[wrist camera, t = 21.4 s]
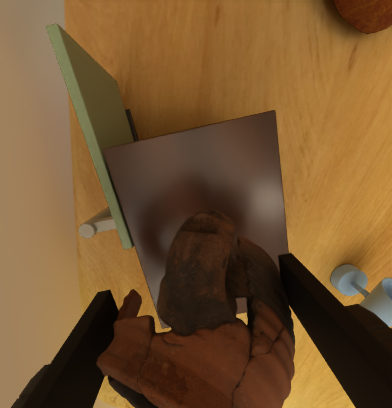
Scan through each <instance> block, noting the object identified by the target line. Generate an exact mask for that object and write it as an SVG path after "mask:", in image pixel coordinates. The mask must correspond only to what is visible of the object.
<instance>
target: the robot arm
mask: <svg viewBox="0 0 392 408" xmlns="http://www.w3.org/2000/svg"><path fill="white" fill-rule="evenodd" d="M278 260H279V269H280V278H281V281H282V285H283V287H284V289H285V293H286V295H287V297H288V300H289V305H290V307H291V308H292V310H293V311H294V313H295V315H296V316H297V318H298V319H299V321H300V322H301V324H302V325H303V327H304V328H305V330H306V332H307V333H308V335H309V336H310V338H311V339H312V341H313V342H314V344H315V345H316V347H317V349H318V350H319V352H320V353H321V355H322V356H323V358H324V359H325V361H326V362H327V364H328V366H329V367H330V369H331V370H332V372H333V373H334V375H335V376H336V378H337V379H338V381H339V383H340V384H341V386H342V387H343V389H344V390H345V392H346V393H347V395H348V396H349V398H350V400H351V401H352V403H353V404H354V406H355V407H356V408H392V328H389V327H388V325H387V324H386V323H385V322H384V321H383V320H381V319H380V318H379V317H378V316H377V315H376V314H375V313H373V312H371V311H370V310H368V309H366V308H364V307H362V306H361V305H359V304H355V305H349V306H344V305H343V304H342V303H341V302H340V301H339V300H338V299H337V298H336V297H335V296H334V295H333V294H332V293H331V292H330V291H329V290H328V289H327V288H326V287H325V286H324V285H323V284H322V283H321V282H320V281H319V280H318V279H317V278H316V277H315V276H314V275H313V274H312V273H311V272H310V271H309V270H308V269H307V268H306V267H305V266H304V265H303V264H302V263H301V262H300V261H299V260H298V259H297V258H296V257H295V256H294V255H293V254H292V253H288V254H283V255H278ZM118 314H119V311H118V308H117V306H116V303H115V301H114V298H113V295H112V293H111V290H106V291H101V292H98V293H97V294H96V296H95V297H94V299H93V300H92V302H91V303H90V305H89V306H88V308H87V309H86V311H85V312H84V314H83V315H82V317H81V318H80V320H79V321H78V323H77V324H76V326H75V327H74V329H73V330H72V332H71V333H70V335H69V336H68V338H67V340H66V341H65V343H64V344H63V345H62V347H61V348H60V350H59V352H58V353H57V355H56V356H55V358H54V359H53V361H52V362H51V364H48V365H44V367H43V368H42V369H41V370H40V371H39V372H38V373H37V374H36V375H35V376H34V377H33V378H32V379H31V380H30V381H29V383H28V384H27V386H26V387H25V388H24V390H23V391H22V393H21V394H20V396H19V399H17V400H16V401H15V403H14V404H13V405H12V407H11V408H93V405H94V403H95V400H96V398H97V395H98V392H99V390H100V387H101V385H102V382H103V379H104V377H105V376H104V375H103V373H102V371H101V369H100V368H99V367H98V366H97V364H96V363H97V358H98V357H99V356H100V355H101V354H102V353H103V352H104V351H105V350H106V349H107V348H108V347H109V345H110V344H111V342H112V341H113V339H114V328H113V325H114V323H115V322H116V321H117V318H118Z"/></svg>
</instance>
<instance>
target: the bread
mask: <svg viewBox="0 0 392 408" xmlns="http://www.w3.org/2000/svg"><path fill="white" fill-rule="evenodd" d="M333 1H334V3H335V5H336V7H337V9H338V11H339V13H340V15H341V17H343V18H344V19H345V20H346V21H348V22H349V23H350V24H352V25H353V26H354V27H356V28H357V29H358V30H359V31H361V32H363V33H366V34H370V33H375V32H378V31H381V30H383V29H386V28H388V27H389V26H391V25H392V0H333Z"/></svg>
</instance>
